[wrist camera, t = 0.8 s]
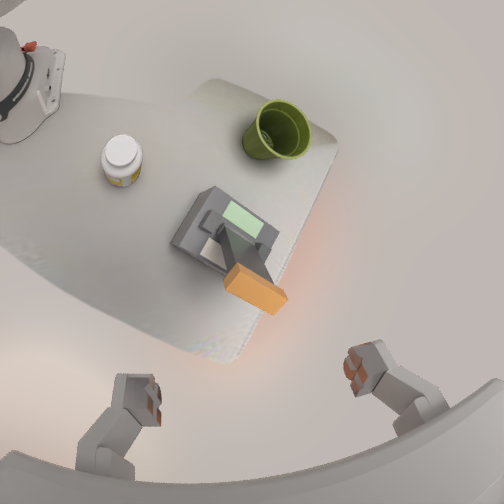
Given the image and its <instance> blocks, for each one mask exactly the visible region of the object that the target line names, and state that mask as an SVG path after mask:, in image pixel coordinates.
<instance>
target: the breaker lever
mask: <svg viewBox="0 0 504 504" xmlns="http://www.w3.org/2000/svg"><path fill="white" fill-rule="evenodd" d="M217 234H219V239H220V243H221V247H222V252H223V256H224V260H225V265H226V269H227V273H228V274H227V276H226V277H225V278H224V279H223V282H224V287H225V290H226V291H228V292H230V293H232V294H233V295H235V296H237V297H239V298H241V299H243V300H245V301H246V302H248V303H250V304H252V305H254V306H256V307H258V308H260V309H262V310H263V311H265V312H267V313H269V314H271V315H275V313H276V312H277V311H278V310H279V309H280V308H281V307H282V306H283V305H284V304H285V303H286V301H288V298H287V296H286V295H285V293H284V291H283V290H282V289H281V288H279V287H277V286H276V285H274V283H273V281H272V279H271V277H270V275H269V273H268V271H267V269H266V267H265V265H264V263H263V261H262V259H261V257H260V255H259V253H258V251H257V249H256V247H255V243H254V242H253V241H251V240H250V239H248V238H247V237H245V236H244V235H242V234H241V233H239V232H238V231H236V230H235V229H233V228H232V227H230V226H229V225H227V224H226V223H223V224H222V225H221V226H220V228H219V229H218V232H217Z"/></svg>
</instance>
